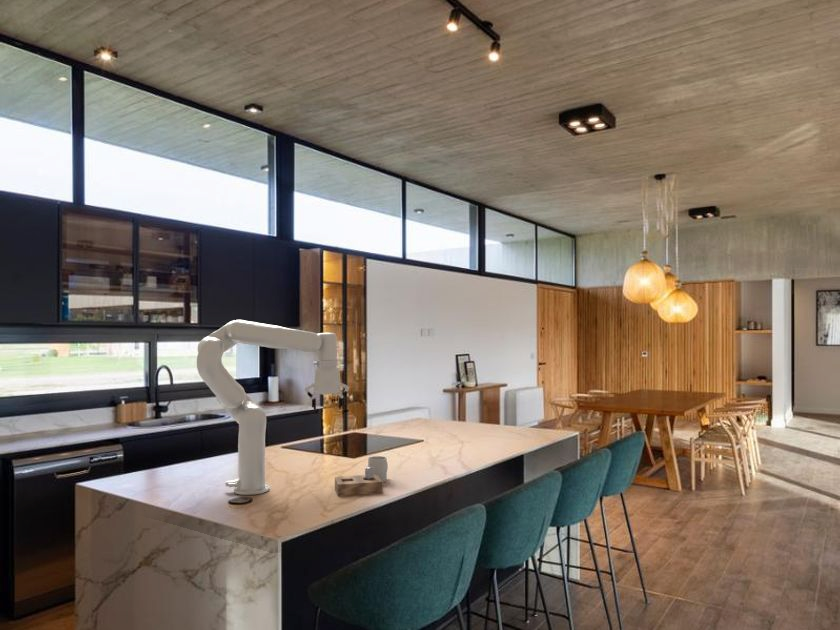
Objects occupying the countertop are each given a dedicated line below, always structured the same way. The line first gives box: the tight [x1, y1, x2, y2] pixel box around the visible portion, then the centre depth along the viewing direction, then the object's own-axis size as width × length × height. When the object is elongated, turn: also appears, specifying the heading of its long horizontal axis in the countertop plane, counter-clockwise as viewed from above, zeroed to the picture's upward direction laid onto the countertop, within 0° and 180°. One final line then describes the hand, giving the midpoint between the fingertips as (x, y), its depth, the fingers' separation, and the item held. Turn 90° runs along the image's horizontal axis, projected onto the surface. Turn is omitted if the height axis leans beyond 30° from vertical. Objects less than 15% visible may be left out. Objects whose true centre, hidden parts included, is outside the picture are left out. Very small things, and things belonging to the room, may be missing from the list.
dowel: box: [364, 466, 374, 480], centre depth 226 cm, size 3×3×7 cm
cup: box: [367, 455, 389, 483], centre depth 240 cm, size 7×10×9 cm
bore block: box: [334, 474, 384, 497], centre depth 225 cm, size 16×12×4 cm
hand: (327, 408), depth 238 cm, fingers open, 9 cm apart
